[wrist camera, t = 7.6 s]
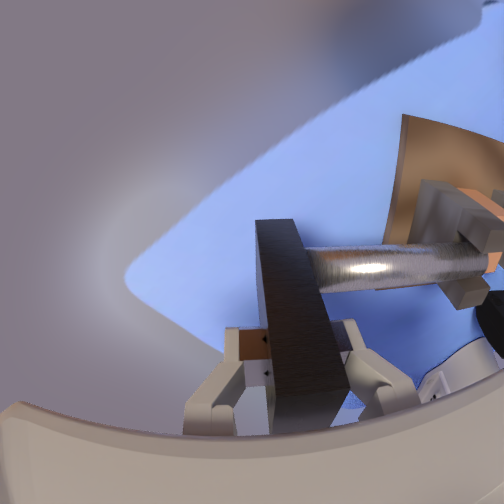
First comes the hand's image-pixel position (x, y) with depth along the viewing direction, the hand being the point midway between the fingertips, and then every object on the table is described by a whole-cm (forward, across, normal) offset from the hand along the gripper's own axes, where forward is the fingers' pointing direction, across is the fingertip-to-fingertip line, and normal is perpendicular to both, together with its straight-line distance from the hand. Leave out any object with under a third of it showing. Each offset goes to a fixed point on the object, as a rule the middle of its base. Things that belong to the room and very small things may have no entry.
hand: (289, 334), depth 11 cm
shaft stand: (+12, -19, 0) cm, 22 cm away
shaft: (+6, -7, 0) cm, 9 cm away
